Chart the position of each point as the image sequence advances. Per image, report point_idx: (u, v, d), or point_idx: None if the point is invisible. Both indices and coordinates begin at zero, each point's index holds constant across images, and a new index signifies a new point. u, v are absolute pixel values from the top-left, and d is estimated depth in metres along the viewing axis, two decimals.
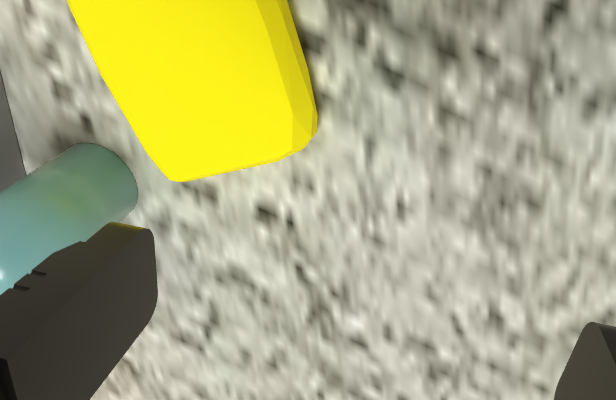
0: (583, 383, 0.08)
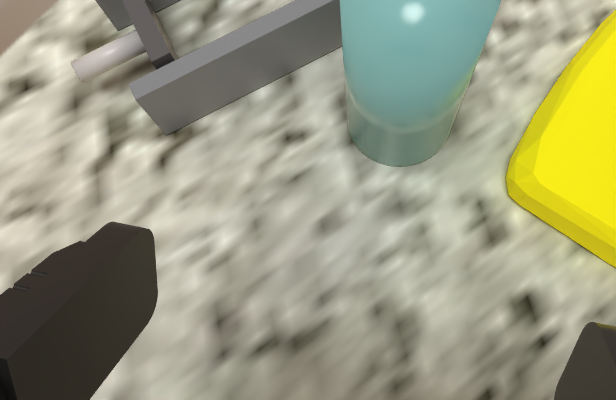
0: (583, 383, 0.08)
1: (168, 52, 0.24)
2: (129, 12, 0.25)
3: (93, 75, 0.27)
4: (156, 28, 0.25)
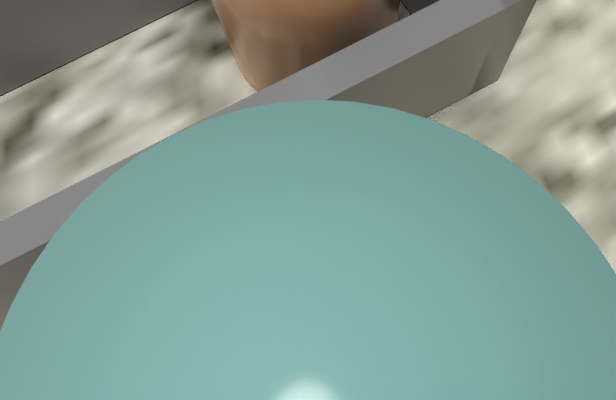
0: None
1: None
2: None
3: None
4: None
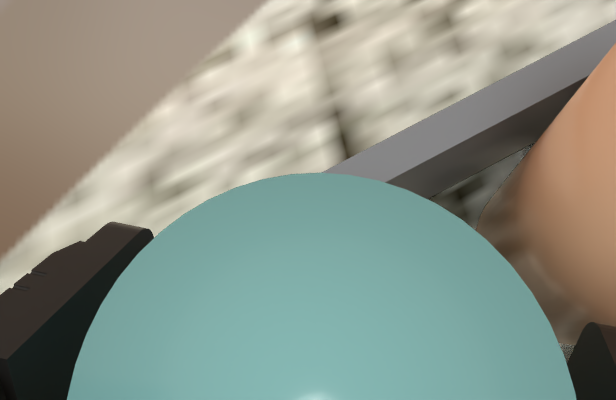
0: (583, 383, 0.08)
1: None
2: None
3: None
4: None
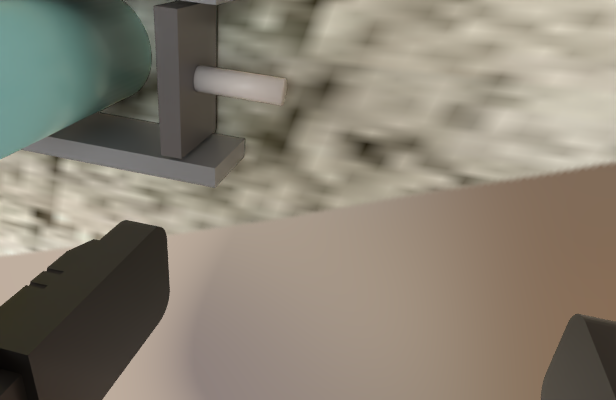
0: (568, 374, 0.08)
1: (155, 7, 0.20)
2: (178, 91, 0.21)
3: (270, 76, 0.22)
4: (157, 48, 0.20)
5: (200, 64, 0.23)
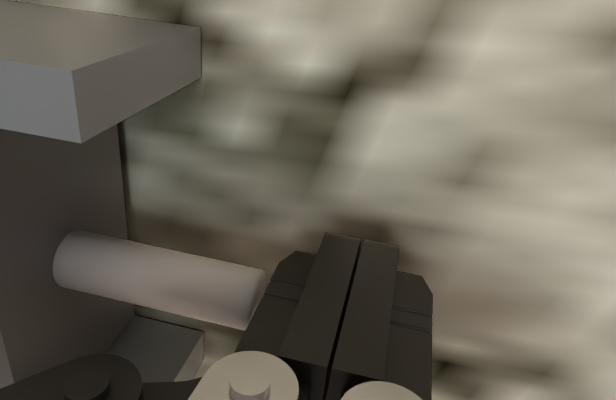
0: None
1: None
2: None
3: (226, 265, 0.10)
4: None
5: (72, 232, 0.10)
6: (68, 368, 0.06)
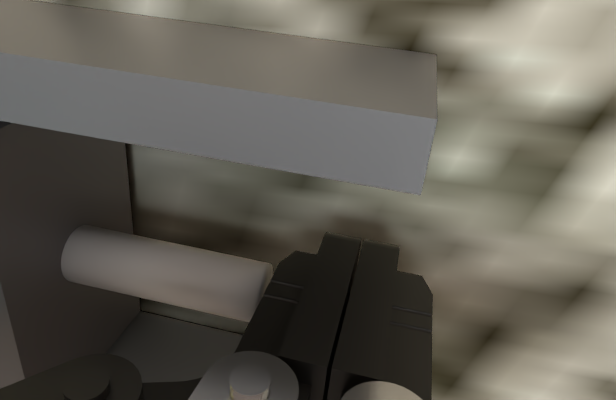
0: None
1: None
2: (6, 318, 0.09)
3: (233, 259, 0.10)
4: None
5: (80, 226, 0.10)
6: (68, 369, 0.06)
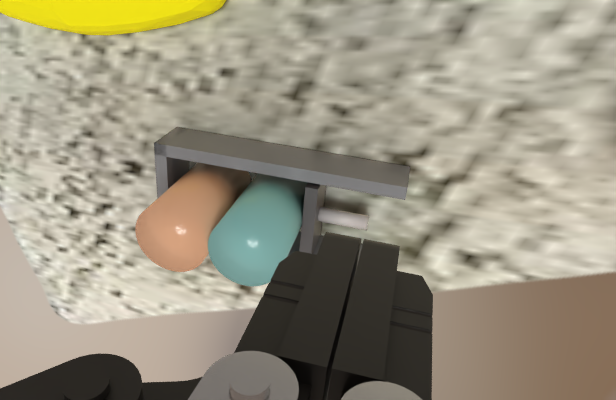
0: None
1: (306, 187, 0.38)
2: (313, 226, 0.39)
3: (360, 214, 0.40)
4: (304, 206, 0.39)
5: (320, 207, 0.41)
6: (68, 368, 0.06)
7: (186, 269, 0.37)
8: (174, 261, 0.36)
